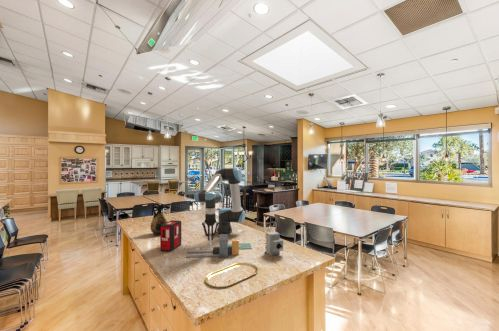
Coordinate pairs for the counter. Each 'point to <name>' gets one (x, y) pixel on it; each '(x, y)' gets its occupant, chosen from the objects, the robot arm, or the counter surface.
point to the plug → (230, 248)
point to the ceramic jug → (157, 219)
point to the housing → (222, 250)
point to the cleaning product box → (170, 236)
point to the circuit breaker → (273, 243)
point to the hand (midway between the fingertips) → (210, 244)
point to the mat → (243, 246)
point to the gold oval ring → (228, 269)
